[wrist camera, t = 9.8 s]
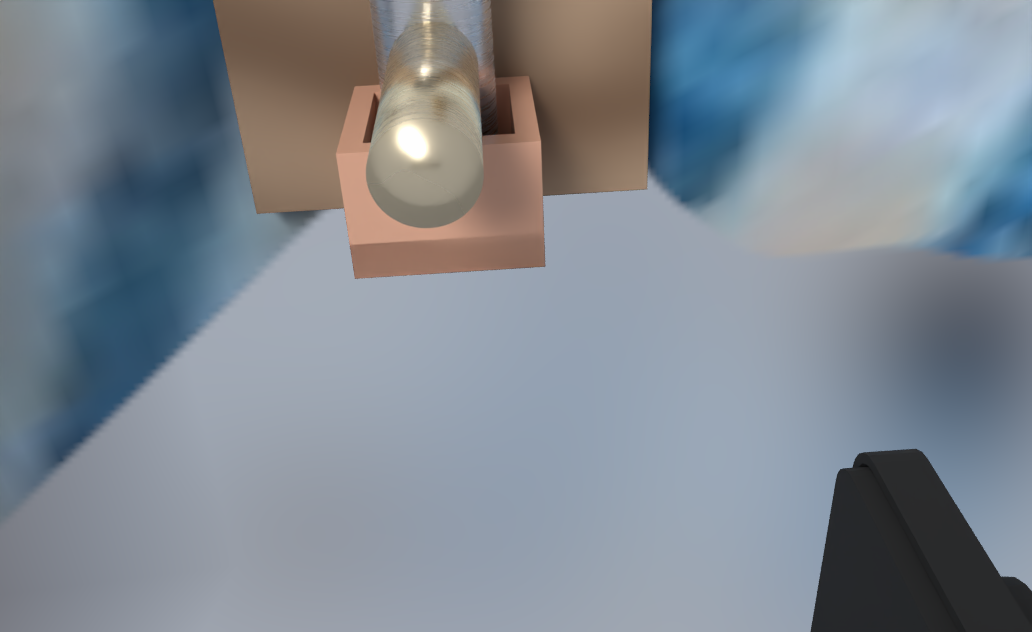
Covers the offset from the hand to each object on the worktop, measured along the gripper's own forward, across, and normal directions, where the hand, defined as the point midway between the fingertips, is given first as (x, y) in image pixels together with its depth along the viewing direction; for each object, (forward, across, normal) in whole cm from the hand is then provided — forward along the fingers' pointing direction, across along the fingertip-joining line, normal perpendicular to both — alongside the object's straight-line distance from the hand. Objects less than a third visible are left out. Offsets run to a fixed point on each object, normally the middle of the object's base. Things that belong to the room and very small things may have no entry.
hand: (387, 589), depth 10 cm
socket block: (+20, 0, +3) cm, 21 cm away
